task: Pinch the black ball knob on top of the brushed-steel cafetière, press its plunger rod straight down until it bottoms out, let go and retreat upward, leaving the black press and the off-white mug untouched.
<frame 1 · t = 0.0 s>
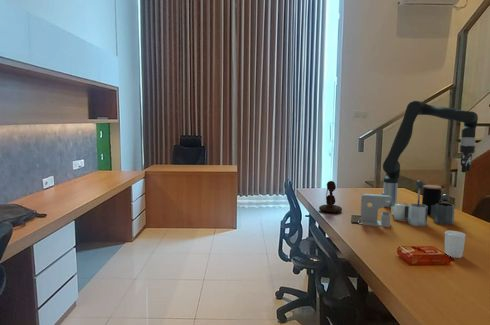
hand: (465, 171, 214), 29 cm above the table, fingers open, 8 cm apart
plunger: (418, 194, 203), point 17 cm above the table, slide at 0.0 cm
steel press: (417, 224, 205), on the table
coffee jar: (430, 213, 230), on the table
black press: (443, 222, 208), on the table
mug: (400, 219, 216), on the table
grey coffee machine: (374, 223, 206), on the table
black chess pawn: (330, 211, 234), on the table
white cup: (453, 255, 157), on the table
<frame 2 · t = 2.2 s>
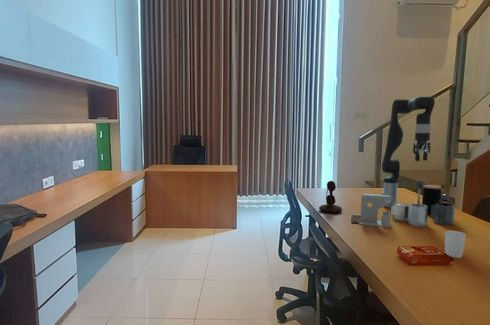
hand: (421, 160, 202), 37 cm above the table, fingers open, 8 cm apart
nothing on the table moved.
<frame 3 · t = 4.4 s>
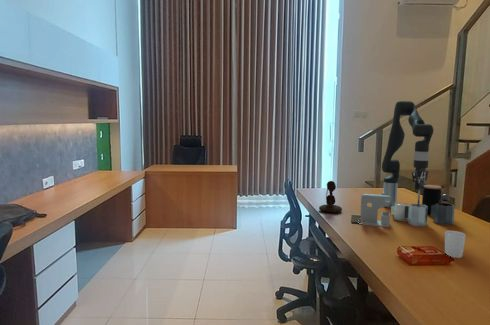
hand: (419, 188, 203), 21 cm above the table, fingers closed on plunger, 4 cm apart
plunger: (418, 194, 203), point 17 cm above the table, slide at 0.0 cm, touching gripper
everything else where it was.
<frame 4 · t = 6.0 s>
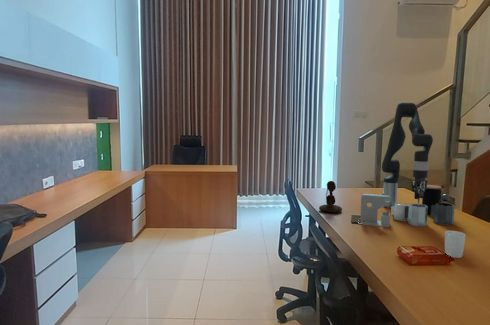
hand: (418, 198, 204), 15 cm above the table, fingers closed on plunger, 4 cm apart
plunger: (418, 204, 204), point 12 cm above the table, slide at 5.6 cm, touching gripper
everything else where it was.
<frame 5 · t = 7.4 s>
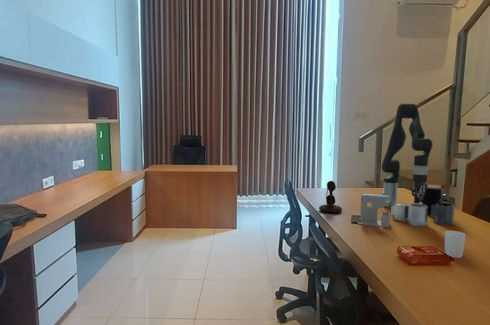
hand: (418, 202, 204), 13 cm above the table, fingers closed on plunger, 4 cm apart
plunger: (418, 208, 204), point 9 cm above the table, slide at 8.1 cm, touching gripper
everything else where it was.
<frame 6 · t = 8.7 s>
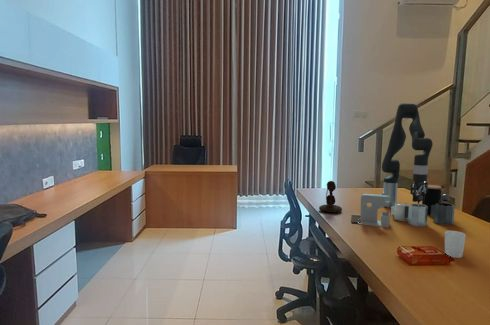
hand: (418, 200, 204), 14 cm above the table, fingers open, 8 cm apart
plunger: (418, 208, 204), point 9 cm above the table, slide at 8.1 cm
everything else where it was.
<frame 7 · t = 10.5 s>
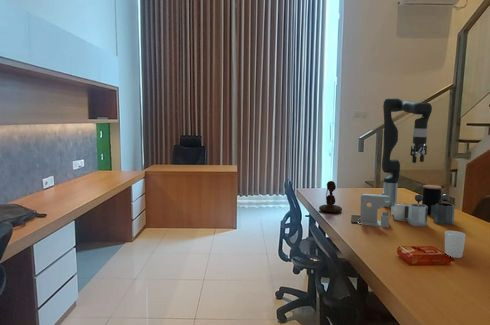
hand: (417, 162, 217), 34 cm above the table, fingers open, 8 cm apart
nothing on the table moved.
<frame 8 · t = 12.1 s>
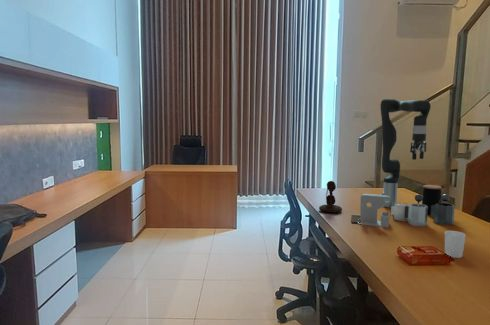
hand: (417, 159, 220), 36 cm above the table, fingers open, 8 cm apart
nothing on the table moved.
at the end: plunger slide at 8.1 cm; the gripper is holding nothing; mug moved 0.1 cm from its start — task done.
